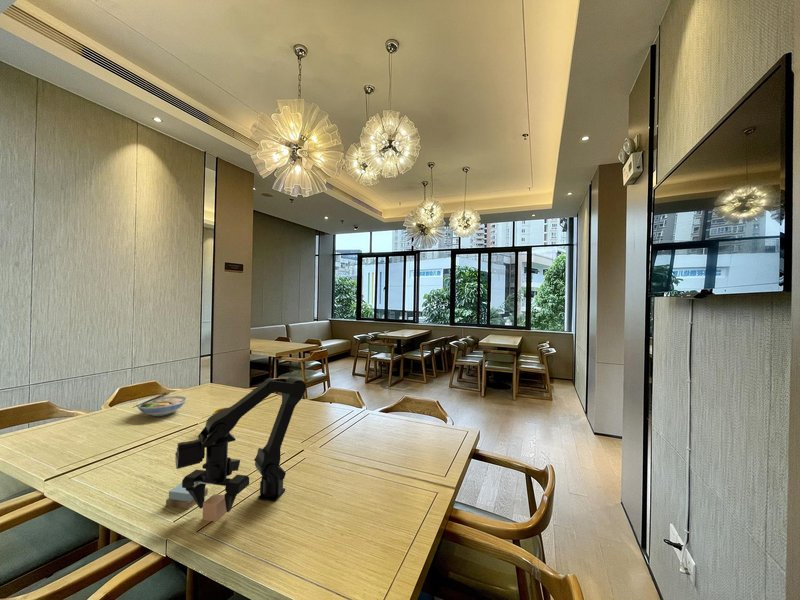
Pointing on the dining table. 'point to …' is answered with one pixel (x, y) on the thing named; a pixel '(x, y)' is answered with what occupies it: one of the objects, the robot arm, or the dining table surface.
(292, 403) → the robot arm
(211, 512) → the clay block
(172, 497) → the blue slab
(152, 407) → the ramen bowl
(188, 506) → the walnut slab
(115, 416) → the dining table surface
